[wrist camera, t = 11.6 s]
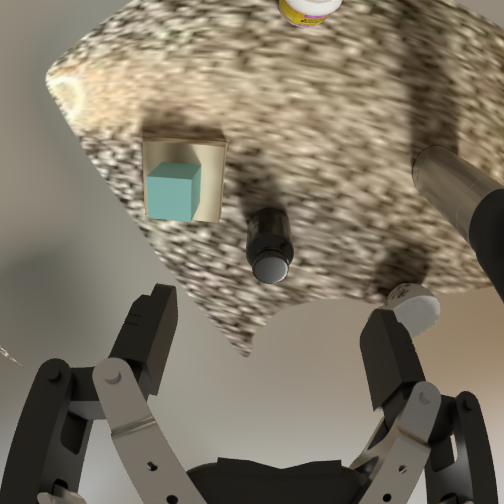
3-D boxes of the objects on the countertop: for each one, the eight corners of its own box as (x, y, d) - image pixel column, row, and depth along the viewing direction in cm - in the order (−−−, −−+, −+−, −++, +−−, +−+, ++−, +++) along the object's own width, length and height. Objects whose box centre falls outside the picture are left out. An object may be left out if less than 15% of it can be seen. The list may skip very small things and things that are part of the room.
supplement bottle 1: (258, 247, 50) (255, 295, 41) (241, 214, 47) (234, 258, 37) (295, 235, 49) (302, 281, 39) (281, 200, 45) (285, 241, 35)
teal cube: (201, 164, 39) (191, 179, 34) (199, 202, 43) (190, 222, 38) (161, 162, 39) (146, 176, 34) (162, 199, 43) (148, 217, 38)
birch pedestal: (227, 142, 40) (224, 146, 38) (221, 213, 47) (218, 222, 45) (150, 137, 40) (142, 142, 37) (151, 206, 47) (145, 214, 44)
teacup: (428, 262, 50) (444, 289, 44) (425, 304, 57) (437, 330, 50) (360, 282, 54) (370, 311, 47) (365, 322, 60) (372, 350, 54)
